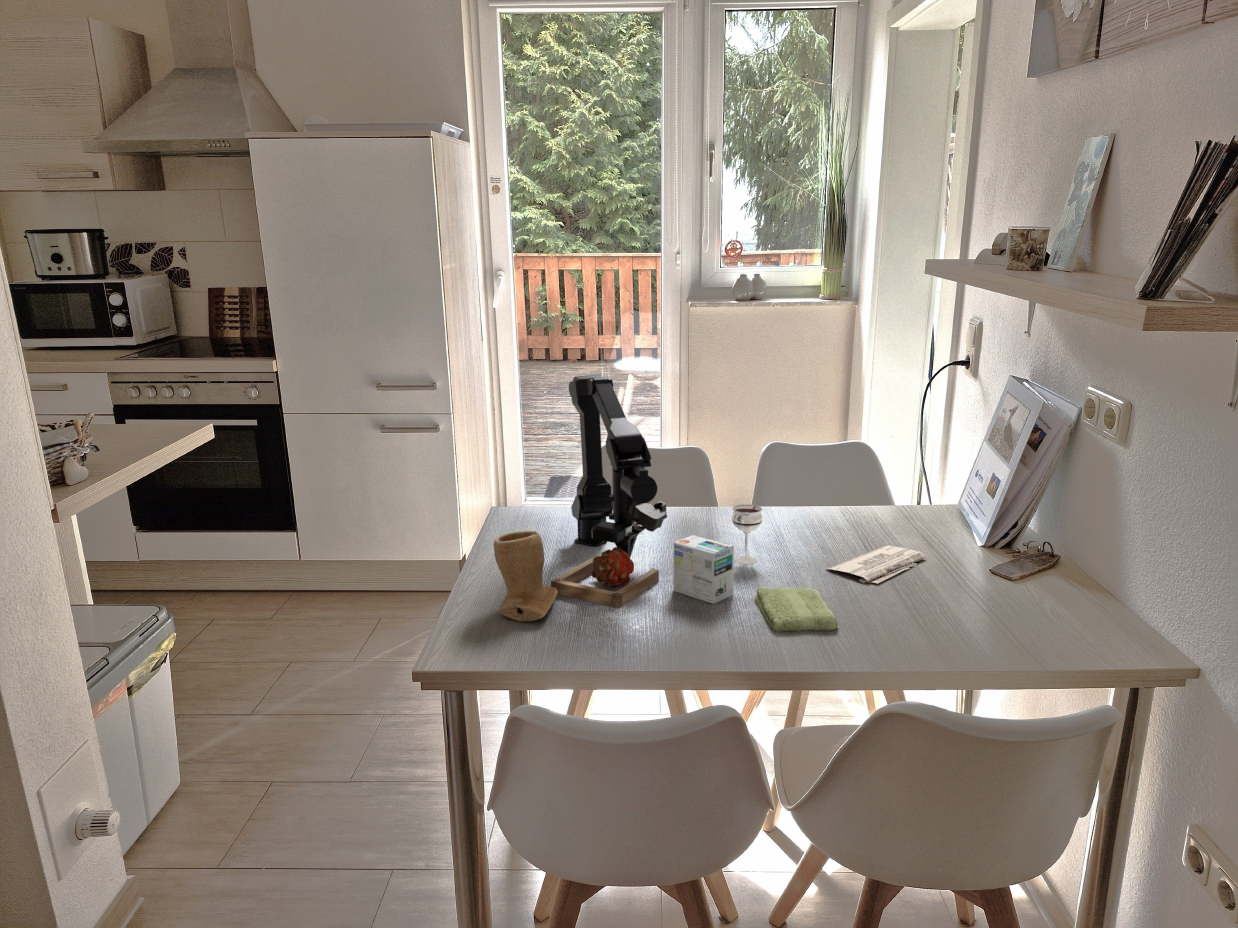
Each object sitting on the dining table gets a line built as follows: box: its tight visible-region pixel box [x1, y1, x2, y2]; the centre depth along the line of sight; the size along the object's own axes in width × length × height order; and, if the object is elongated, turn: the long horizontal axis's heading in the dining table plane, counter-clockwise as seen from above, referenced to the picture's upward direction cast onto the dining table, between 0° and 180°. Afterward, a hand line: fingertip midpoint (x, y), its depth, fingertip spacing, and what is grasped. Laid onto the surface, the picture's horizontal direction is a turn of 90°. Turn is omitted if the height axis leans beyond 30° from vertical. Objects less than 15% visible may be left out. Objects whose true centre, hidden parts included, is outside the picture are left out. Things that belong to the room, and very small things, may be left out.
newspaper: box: [825, 545, 926, 585], centre depth 192 cm, size 23×12×2 cm, turn 130°
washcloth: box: [754, 586, 839, 632], centre depth 168 cm, size 13×18×3 cm
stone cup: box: [493, 530, 558, 622], centre depth 170 cm, size 15×12×15 cm
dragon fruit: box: [590, 546, 635, 589], centre depth 183 cm, size 8×8×12 cm
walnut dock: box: [550, 556, 660, 609], centre depth 182 cm, size 16×16×2 cm
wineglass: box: [731, 503, 764, 565], centre depth 195 cm, size 7×7×12 cm
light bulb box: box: [673, 534, 735, 605], centre depth 177 cm, size 11×7×11 cm, turn 47°
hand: (626, 560), depth 189 cm, fingers closed
